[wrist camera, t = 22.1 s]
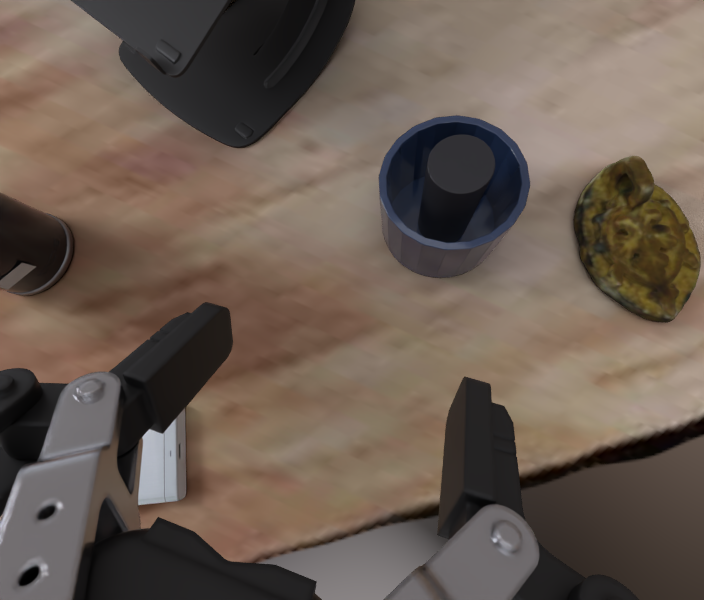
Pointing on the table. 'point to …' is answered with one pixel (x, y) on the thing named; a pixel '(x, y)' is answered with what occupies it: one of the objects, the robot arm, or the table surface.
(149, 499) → the hard drive
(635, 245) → the bronze pendant
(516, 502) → the robot arm
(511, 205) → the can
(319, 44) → the laptop stand
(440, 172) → the canister
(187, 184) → the table surface
